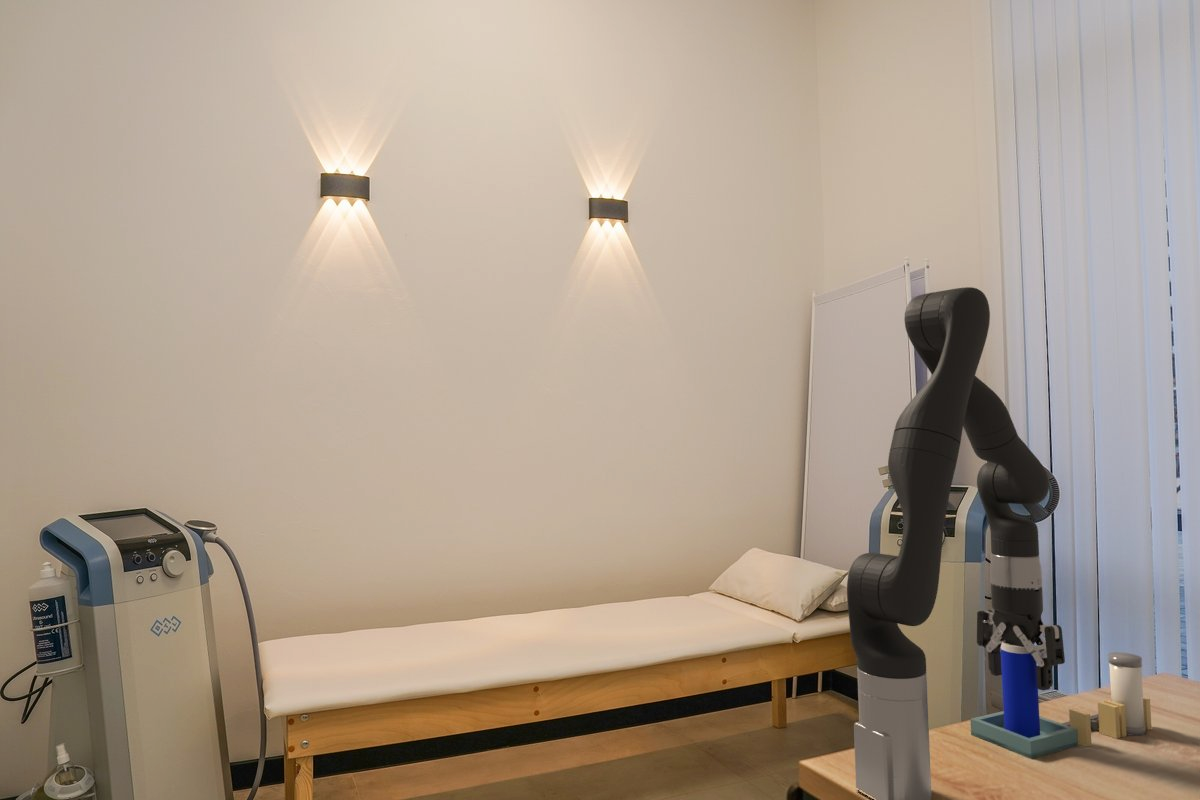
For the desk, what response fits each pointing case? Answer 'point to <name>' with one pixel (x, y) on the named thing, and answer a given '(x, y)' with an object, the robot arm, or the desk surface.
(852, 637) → the robot arm
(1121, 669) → the fuse
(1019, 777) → the desk surface
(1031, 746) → the tray
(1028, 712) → the beverage can
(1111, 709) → the fuse block
